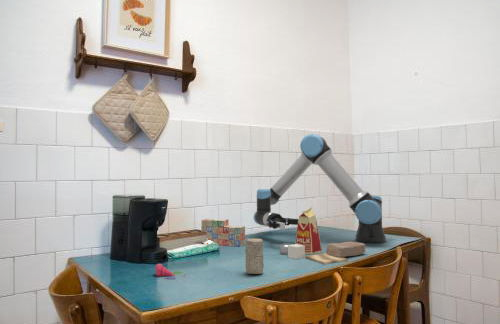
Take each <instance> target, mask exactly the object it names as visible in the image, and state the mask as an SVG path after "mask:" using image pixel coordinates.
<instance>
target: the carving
mask: <svg viewBox="0 0 500 324" xmlns="http://www.w3.org/2000/svg"><path fill="white" fill-rule="evenodd" d="M244 247H245V248H244V252H245V271H246V273H247V274H249V275H259V274H263V273H264V267H265V266H264V254H263V252H264V240H263V238H257V237H256V238H247V240H245V245H244Z"/></svg>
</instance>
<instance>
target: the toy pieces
mask: <svg viewBox="0 0 500 324" xmlns="http://www.w3.org/2000/svg"><path fill="white" fill-rule="evenodd" d="M154 269H155V275H156V276H157V277H164V278H163V279H164V280H165V279H167V280H166V281H173V280H177V278H176V275H177V274H178V275H183V276H184V277H185V275H186V274H184V271H182V270H176V271H172V272H171V271H170V270H169V269H167V267H166V266H163V264H162V263H157V264H156V266H155V267H154Z"/></svg>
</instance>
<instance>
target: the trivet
mask: <svg viewBox="0 0 500 324" xmlns="http://www.w3.org/2000/svg"><path fill="white" fill-rule="evenodd" d="M304 259H307V260H310V261H313V262H317V263H319V264H322V265H329V264H335V263H340V262H341V263H343V262H348V260H349V259H348V258H346V257H337V256H332V255H328V254H327V253H326V252H325V253H317V254H310V255H305V258H304Z"/></svg>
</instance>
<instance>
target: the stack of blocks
mask: <svg viewBox="0 0 500 324" xmlns="http://www.w3.org/2000/svg"><path fill="white" fill-rule="evenodd" d="M200 221H201V232H202V231H207V238H208V240H211V241H213V242H215V243H217V244H219V245H218V246H223V247H224V246H226V247H238V248H239V247H243V246H245V245H246V226H245V225H230V224H229V219H227V218H204V219H201V220H200Z"/></svg>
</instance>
